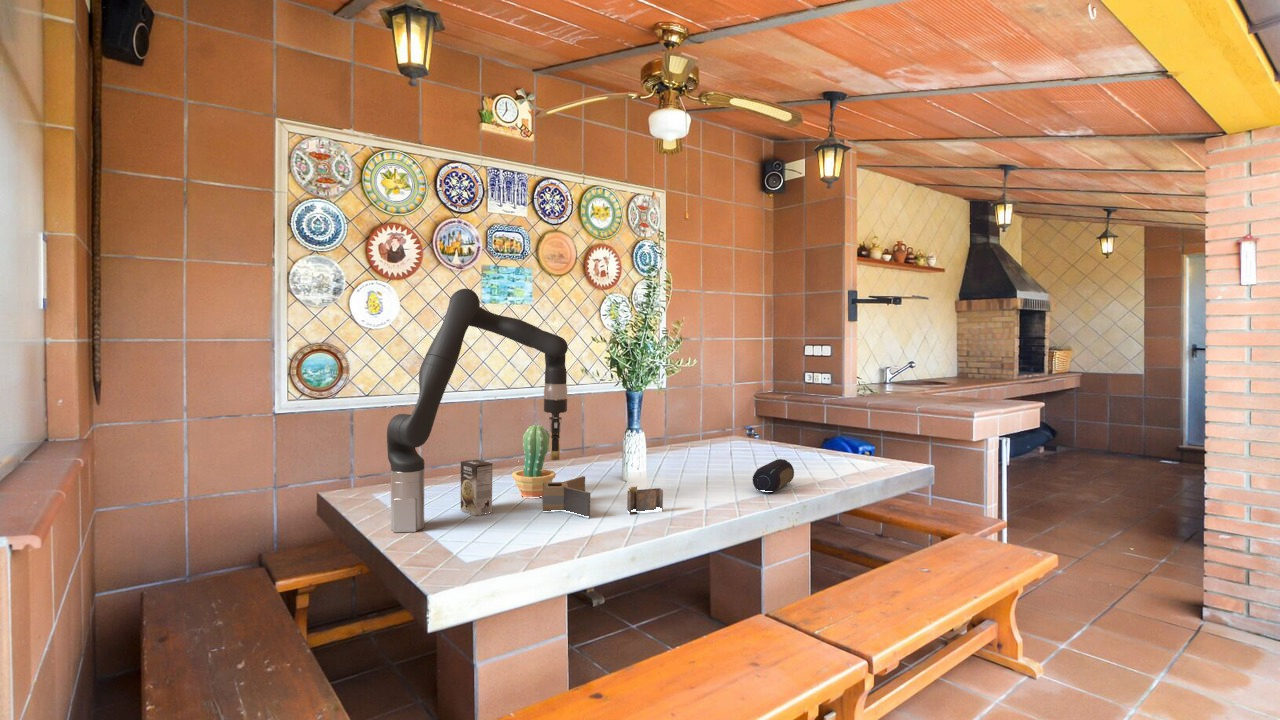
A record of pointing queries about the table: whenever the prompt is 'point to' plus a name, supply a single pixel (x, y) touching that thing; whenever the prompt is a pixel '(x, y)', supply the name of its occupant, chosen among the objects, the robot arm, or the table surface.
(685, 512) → the table surface
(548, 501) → the hinge
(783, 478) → the portable speaker
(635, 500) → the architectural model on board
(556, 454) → the hinge pin
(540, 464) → the potted cactus
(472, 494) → the coffee box
